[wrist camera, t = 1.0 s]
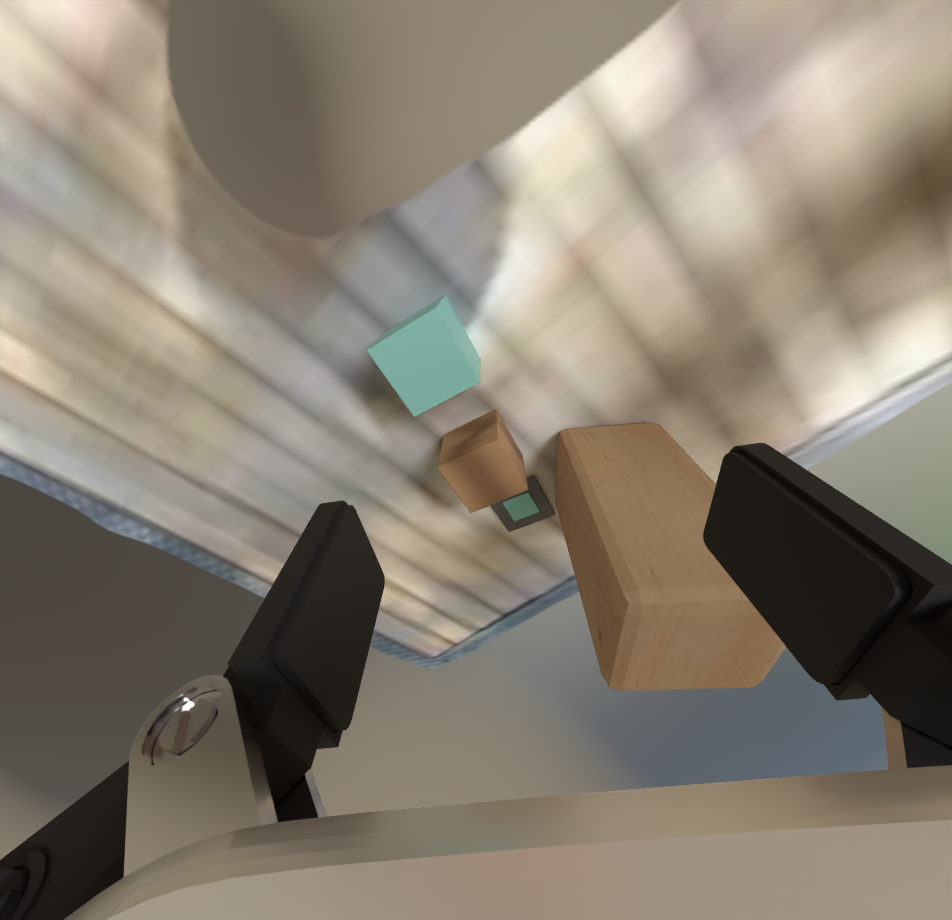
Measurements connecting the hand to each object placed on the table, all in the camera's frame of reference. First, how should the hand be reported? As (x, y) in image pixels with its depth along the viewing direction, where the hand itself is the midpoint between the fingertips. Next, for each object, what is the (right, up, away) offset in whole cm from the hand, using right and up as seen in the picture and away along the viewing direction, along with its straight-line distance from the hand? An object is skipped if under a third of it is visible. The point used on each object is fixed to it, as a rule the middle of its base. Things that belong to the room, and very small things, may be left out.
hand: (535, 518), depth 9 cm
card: (+4, -4, +31) cm, 31 cm away
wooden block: (+12, +1, +28) cm, 30 cm away
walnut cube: (-1, +3, +27) cm, 27 cm away
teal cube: (-5, +12, +21) cm, 25 cm away
